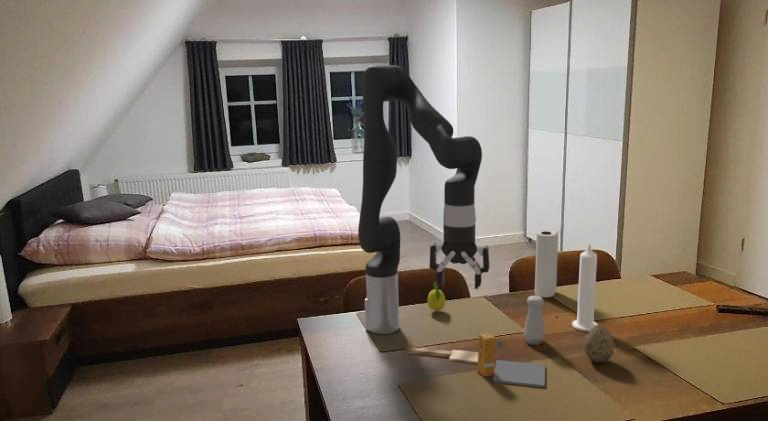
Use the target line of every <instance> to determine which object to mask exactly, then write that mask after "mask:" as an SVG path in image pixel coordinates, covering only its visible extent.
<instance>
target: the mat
mask: <svg viewBox="0 0 768 421" xmlns="http://www.w3.org/2000/svg"><path fill="white" fill-rule="evenodd" d="M492 377H493V378H492V382H493V383H499V384H506V385H507V384H509V385H516V386H517V385H518V386H527V387H536V388H545V387H546V365H545V364H538V363H528V362H517V361H511V360H510V361H509V360H498V359H496V361H495V365H494V375H493V376H492Z"/></svg>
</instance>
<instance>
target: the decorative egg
mask: <svg viewBox="0 0 768 421" xmlns="http://www.w3.org/2000/svg"><path fill="white" fill-rule="evenodd" d="M587 332H588V333H587V334H586V336H585V339H584V342H583V348H584V353H585V354H586V356H587V358H588V359H589V360H591V362H595V363H598V364H600V363H601V364H602V363H605V362H608V361H609V360H610V359H611V357H612V356H613V354H614V352H615V351H614V350H615V343H614V338H613V336H612V334H611V332H610V331H609V330H608V329H607V328H606V327H605V326H604V325H603V324H598V325H596V326H595V327H593V328H592V329H591V330H590V331H587Z"/></svg>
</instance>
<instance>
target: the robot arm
mask: <svg viewBox="0 0 768 421" xmlns="http://www.w3.org/2000/svg"><path fill="white" fill-rule="evenodd" d="M394 101H397V102H399V103H401V104H402V105H404V106H405V107H406V108H407V109H408V114H409V120H410V124H411V126H412V129H414V131H415V132H417V133H418V134H419V136H420V137H421V138H422V139H423V140H424V141H425V142H426V143H427V144H428V145H429V149H430V150H431V152H432V153H433V156H434V157H435V160H436V161H437V162H438V164H440V166H442V167H443V168H445V169H448V170H455V169H456V172H455V173H454V175H453V176H451V177H450V178H448V179H446V181H445V182H444V189H443V191H444V193H443V194H444V195H443V196H444V204H443V205H444V206H443V212H442V213H443V214H442V215H443V217H442V218H443V231H442V232H443V243H442V244H437V243H436V242H433V243H432V244H431V245H430V248H429V269H430V270H435V271H436V275H437V276H436V282H437V285H439V287H444V285H445V268H446V267H447V266H448V264H449V263H451V264H461V265H466V264H468V265H469V267H470V268H472V270H473V271H474V272H475V273H474V289H475V290H478V289H479V287H481V285H482V274H483V273H488V272H489V270H490V247H489V246H488V245H484V246H477V245H476V221H477V217H476V207H475V206H476V205H475V191H476V190H475V186H476V182H477V179H478V177H479V172H480V167H481V164H482V159H483V158H482V157H483V150H482V146H481V143H480V142H479V140H478V139H477V138H476V137H474V136H471V135H469V136H468V135H467V136H459V137H453V135H454V127H453V125H452V124H451V123H450V121H449V120H447V119H446V118H445V117H444V116H443V115H442V114H441V113H440V112H439V111H437V109H436V108H435V107H434V106H432V104H431V103H430V102H429V101H428V100H427V99H426V97H425V96H424V95H423V93H422V91H421V90H420V89H419V87H418V86H417V85H416V84H415V82H414V80H413V79H412V78H411V76H410V75H409V74H408V72H407V71H406V70H405V69H404V68H402V67H401V66H399V65H396V64H394V65H393V64H386V65H385V64H384V65H383V64H381V65H377V64H376V65H370V66H368V67H367V68H366V69H365V71H364V73H363V77H362V103H363V122H364V123H363V124H364V125H363V126H364V127H363V128H364V131H363V132H364V133H363V136H364V137H363V138H364V140H363V157H362V158H363V159H362V194H361V195H362V196H361V205H360V210H359V211H360V212H359V213H360V214H359V221H358V230H357V231H358V232H357V234H358V235H357V236H358V237H357V238H358V242H359V246H360V249H362V250H363V251H364V252H365V253H366V254H374V253H375V255H373V257H372V258H371V259H369V260H368V261H367V262H366V264H365V284H366V285H365V286H366V287H365V288H366V298H364V317H365V331H369V332H371V333H374V334H377V335H388V334H392V333H396V332H397V331H398V330H399V329H400V316H399V315H400V312H399V272H398V270H399V269H398V268H399V265H400V261H401V232H400V226H399V223H398V222H397V220H396V219H394V217H392V216H380V215H381V209H382V205H383V202H384V200H385V199H386V197H387V195H388V193H389V191H390V190H391V187H392V186H393V184H394V182H395V180H396V177H397V171H398V170H397V168H398V149H397V146H396V143H395V141H394V139H393V138H392V136H391V133H390V132H389V130H388V128H387V125H386V123H385V117H384V116H385V115H384V102H394ZM440 251H441V252H442V253H443V254H444V258H443V259H442V261H441V262H440V263H437V255H438V254H439V253H440ZM477 253H479V255H480V257H482V265H480V263H479V262H478V260H477V259H476V257H475V255H476V254H477Z"/></svg>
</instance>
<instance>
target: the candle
mask: <svg viewBox="0 0 768 421" xmlns="http://www.w3.org/2000/svg"><path fill="white" fill-rule="evenodd" d="M591 246H592V245H591V243H588V244H587V247H586V249H585V251H583V252H581V253H580V256H579V272H578V274H579V276H578V291H577V292H578V294H577V312H576V313H577V315H576V316H577V317H576V319H575V320H573V321H572V323H571V326H572V328H574V329H576V330H577V331H581V332H589V331H590V330H591V329H592V328H593V327H595V326H596V325H599V324H598V323H597V322H595V321H594V319H595V318H594V317H595V302H596V301H595V300H596V281H597V270H598V269H597V267H598V266H597V265H598V255H597V254H596V252H594V251H593V249H592V247H591Z"/></svg>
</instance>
